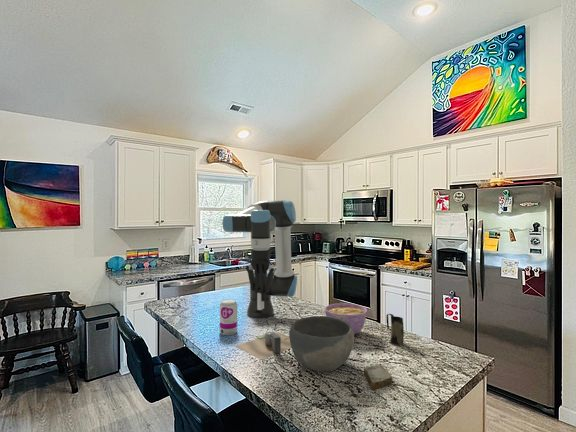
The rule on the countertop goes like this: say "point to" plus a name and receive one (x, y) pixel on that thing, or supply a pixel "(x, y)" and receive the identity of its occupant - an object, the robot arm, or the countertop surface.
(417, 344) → the countertop surface
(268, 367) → the countertop surface
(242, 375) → the countertop surface
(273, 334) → the peg key
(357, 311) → the bowl of food
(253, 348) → the board
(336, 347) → the bowl
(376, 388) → the stone
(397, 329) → the mug
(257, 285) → the robot arm
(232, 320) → the supplement can
